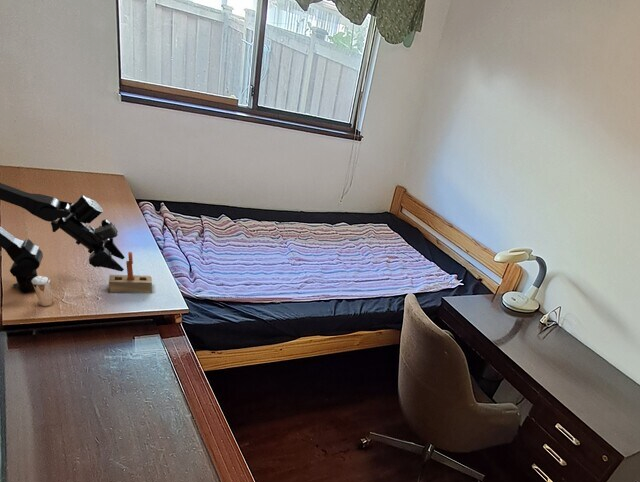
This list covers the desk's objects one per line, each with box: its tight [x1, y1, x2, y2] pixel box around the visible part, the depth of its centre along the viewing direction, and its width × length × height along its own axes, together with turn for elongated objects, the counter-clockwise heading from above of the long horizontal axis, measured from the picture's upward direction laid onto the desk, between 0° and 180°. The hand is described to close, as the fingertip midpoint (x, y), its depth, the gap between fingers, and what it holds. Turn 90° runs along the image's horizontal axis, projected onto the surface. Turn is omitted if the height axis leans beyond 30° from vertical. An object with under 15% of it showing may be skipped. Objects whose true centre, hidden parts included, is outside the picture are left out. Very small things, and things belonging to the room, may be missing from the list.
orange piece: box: [125, 251, 134, 280], centre depth 156 cm, size 2×4×14 cm, turn 23°
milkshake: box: [31, 275, 53, 307], centre depth 140 cm, size 4×5×10 cm
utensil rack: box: [108, 274, 153, 294], centre depth 159 cm, size 5×13×4 cm, turn 113°
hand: (123, 264), depth 154 cm, fingers open, 9 cm apart
